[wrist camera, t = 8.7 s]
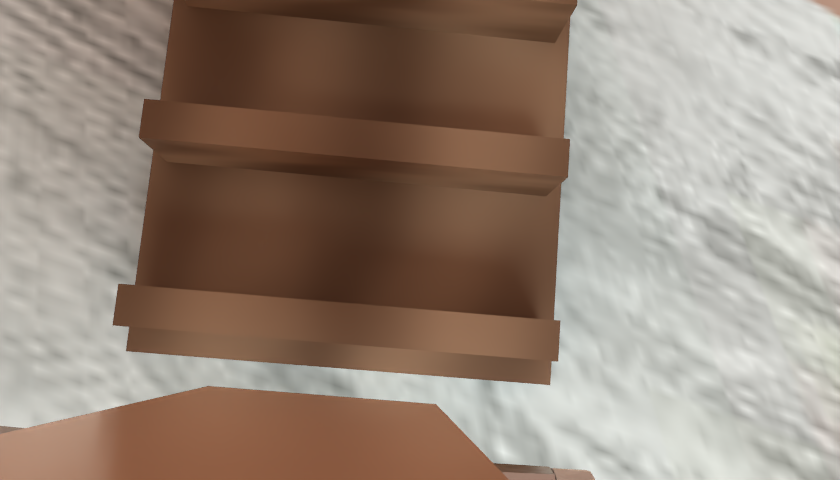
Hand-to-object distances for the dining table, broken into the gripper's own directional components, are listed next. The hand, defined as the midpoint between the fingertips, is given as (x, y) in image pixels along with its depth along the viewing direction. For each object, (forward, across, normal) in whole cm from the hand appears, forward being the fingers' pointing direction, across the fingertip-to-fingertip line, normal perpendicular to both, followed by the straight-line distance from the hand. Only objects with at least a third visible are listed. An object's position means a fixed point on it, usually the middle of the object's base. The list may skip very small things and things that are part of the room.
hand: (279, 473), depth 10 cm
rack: (+17, 0, +6) cm, 18 cm away
